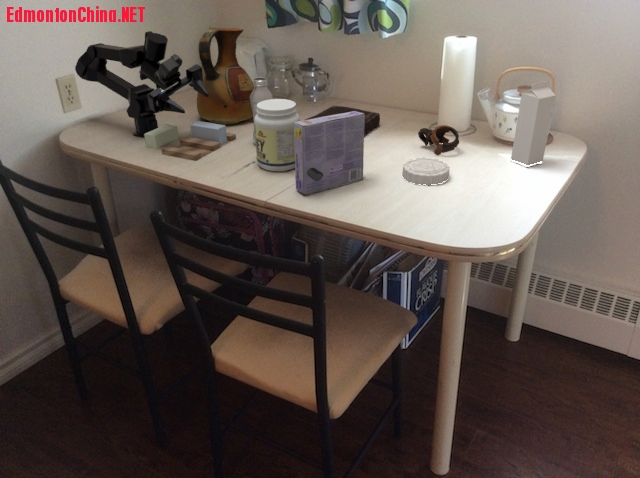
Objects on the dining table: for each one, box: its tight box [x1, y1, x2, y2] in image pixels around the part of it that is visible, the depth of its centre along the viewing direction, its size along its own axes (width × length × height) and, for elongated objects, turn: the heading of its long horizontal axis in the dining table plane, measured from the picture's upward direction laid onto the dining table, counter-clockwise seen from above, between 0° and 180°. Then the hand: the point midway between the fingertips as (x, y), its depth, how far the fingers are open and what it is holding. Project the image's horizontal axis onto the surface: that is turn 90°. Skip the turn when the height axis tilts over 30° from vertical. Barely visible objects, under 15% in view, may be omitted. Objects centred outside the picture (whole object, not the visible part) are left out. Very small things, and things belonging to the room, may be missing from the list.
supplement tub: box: [253, 98, 301, 172], centre depth 154 cm, size 12×12×17 cm
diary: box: [304, 105, 381, 136], centre depth 180 cm, size 19×25×5 cm
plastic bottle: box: [250, 77, 274, 146], centre depth 165 cm, size 6×7×20 cm
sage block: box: [144, 123, 179, 150], centre depth 171 cm, size 10×4×5 cm, turn 153°
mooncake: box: [401, 157, 450, 186], centre depth 149 cm, size 12×12×4 cm
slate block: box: [189, 120, 227, 145], centre depth 171 cm, size 10×4×5 cm, turn 63°
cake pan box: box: [294, 111, 365, 196], centre depth 142 cm, size 19×5×18 cm, turn 123°
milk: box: [510, 80, 556, 165], centre depth 151 cm, size 6×6×22 cm
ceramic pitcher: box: [196, 26, 255, 125], centre depth 185 cm, size 20×20×30 cm
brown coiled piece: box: [417, 124, 460, 156], centre depth 165 cm, size 12×10×8 cm
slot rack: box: [161, 131, 237, 162], centre depth 168 cm, size 12×20×2 cm, turn 153°
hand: (196, 103), depth 163 cm, fingers open, 9 cm apart
